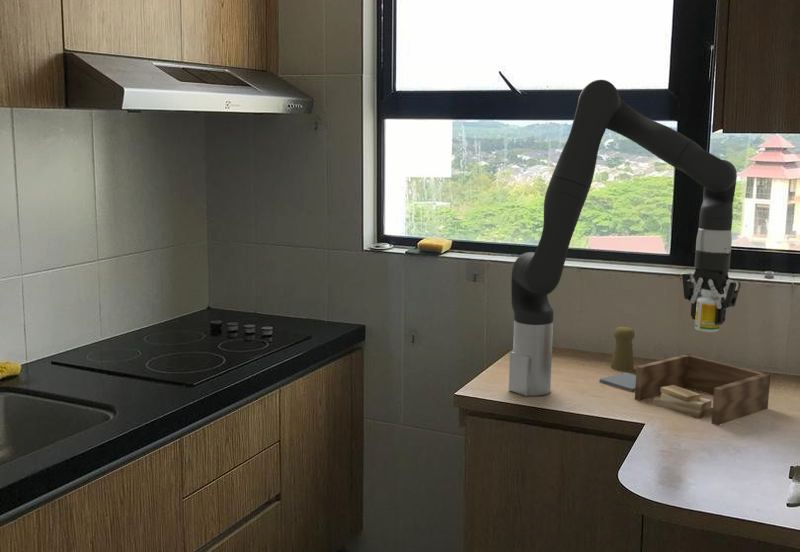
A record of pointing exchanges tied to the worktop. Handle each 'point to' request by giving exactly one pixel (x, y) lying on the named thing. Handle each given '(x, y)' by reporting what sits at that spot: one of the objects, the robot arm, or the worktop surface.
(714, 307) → the supplement bottle
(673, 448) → the worktop surface
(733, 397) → the walnut open frame
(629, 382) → the slate mat
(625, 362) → the cork
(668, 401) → the offcut stack
